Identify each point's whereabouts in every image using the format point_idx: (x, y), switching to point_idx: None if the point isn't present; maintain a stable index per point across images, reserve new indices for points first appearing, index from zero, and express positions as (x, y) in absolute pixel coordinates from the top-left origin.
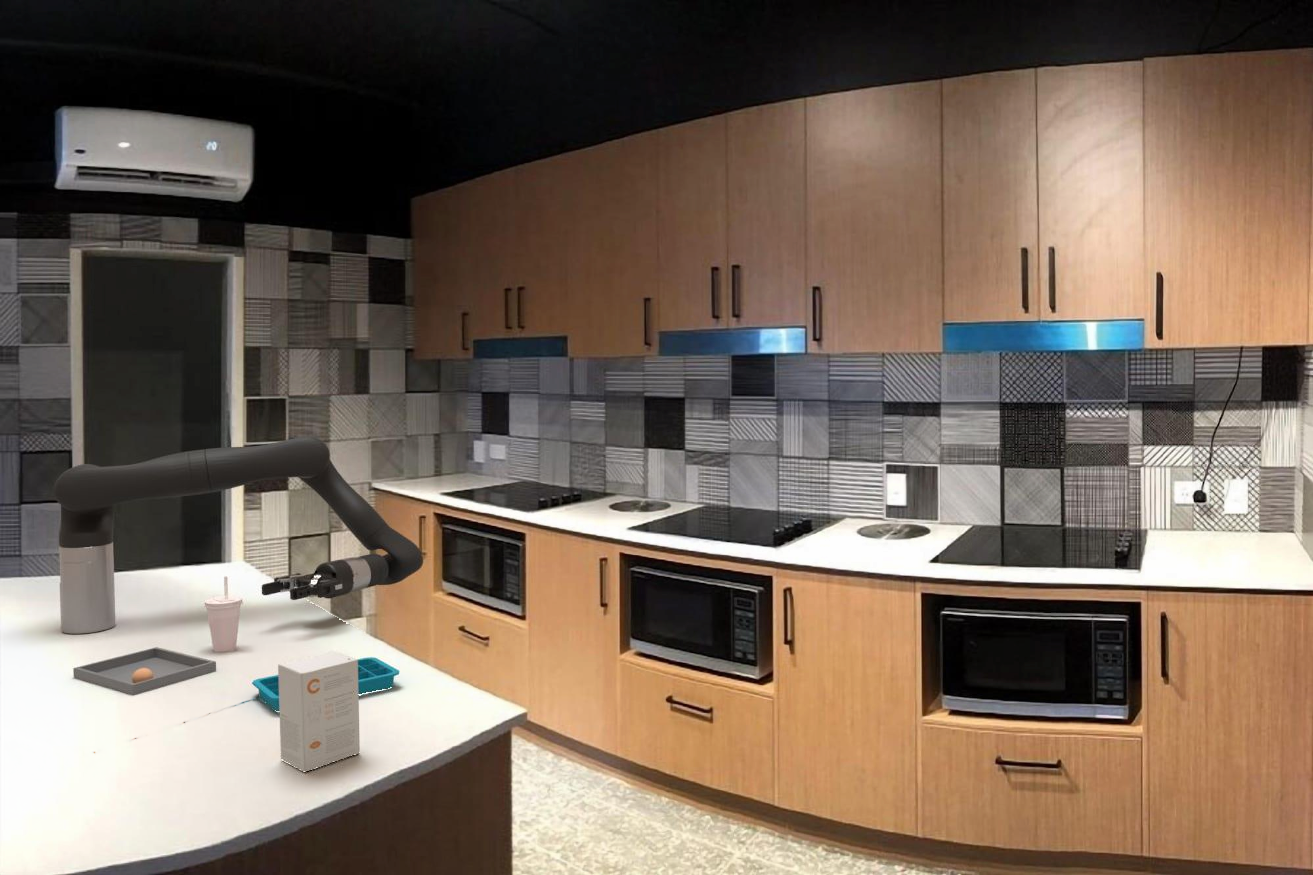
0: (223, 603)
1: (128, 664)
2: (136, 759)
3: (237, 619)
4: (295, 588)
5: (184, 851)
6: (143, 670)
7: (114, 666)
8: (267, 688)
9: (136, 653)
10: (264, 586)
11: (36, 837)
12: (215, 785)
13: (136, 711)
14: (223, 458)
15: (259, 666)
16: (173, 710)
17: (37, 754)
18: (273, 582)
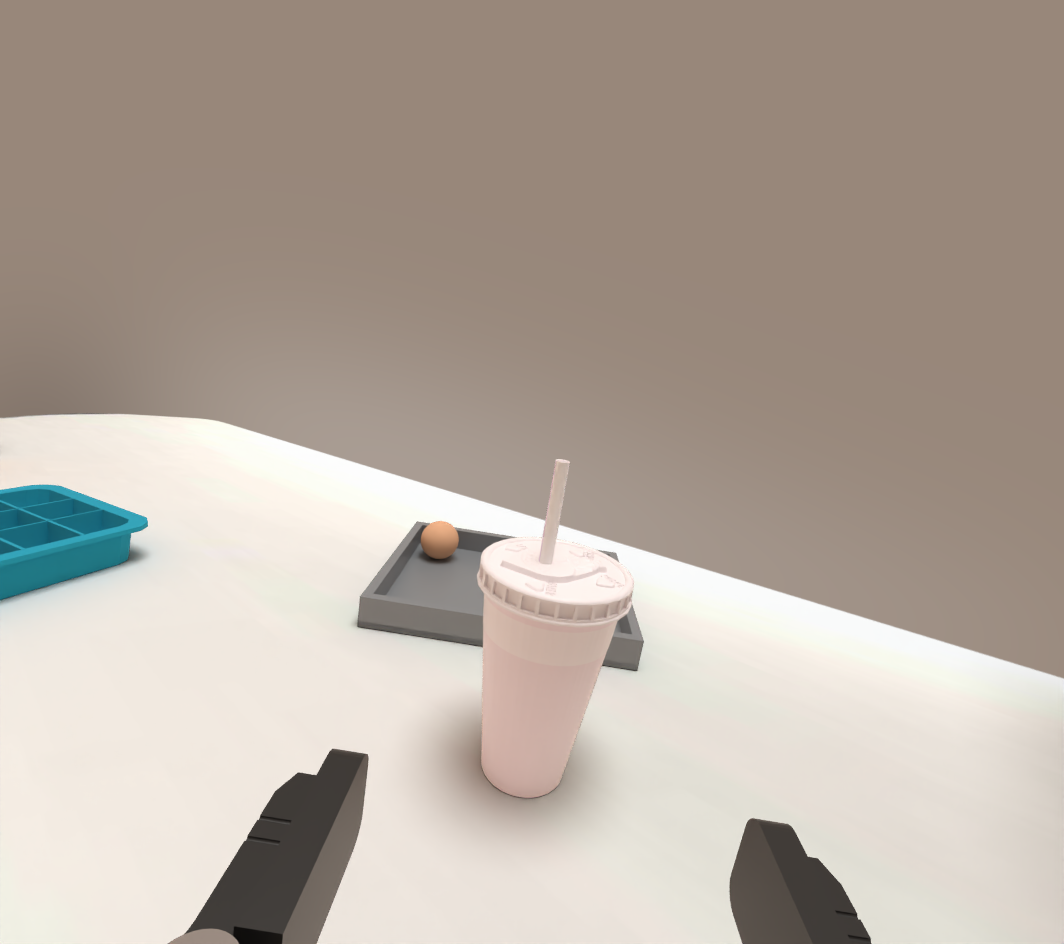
0: (499, 541)
1: None
2: (229, 466)
3: (485, 651)
4: (329, 772)
5: (66, 414)
6: (434, 522)
7: None
8: (88, 503)
9: None
10: (747, 824)
11: (221, 427)
12: (81, 444)
13: (353, 520)
14: None
15: (253, 680)
16: (291, 523)
17: (362, 473)
18: (821, 932)
